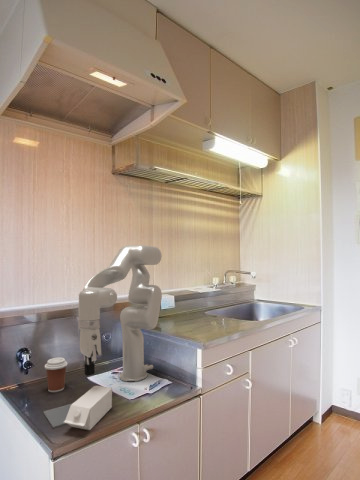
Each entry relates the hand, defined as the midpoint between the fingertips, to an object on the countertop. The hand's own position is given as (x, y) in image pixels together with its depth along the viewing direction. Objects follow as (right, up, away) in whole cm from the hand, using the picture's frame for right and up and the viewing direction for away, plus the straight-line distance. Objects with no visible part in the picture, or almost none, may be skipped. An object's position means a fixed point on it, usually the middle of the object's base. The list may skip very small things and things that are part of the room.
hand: (89, 374), depth 120 cm
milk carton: (+5, -8, 0) cm, 9 cm away
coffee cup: (-19, -13, +17) cm, 28 cm away
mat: (-5, -12, -4) cm, 14 cm away
